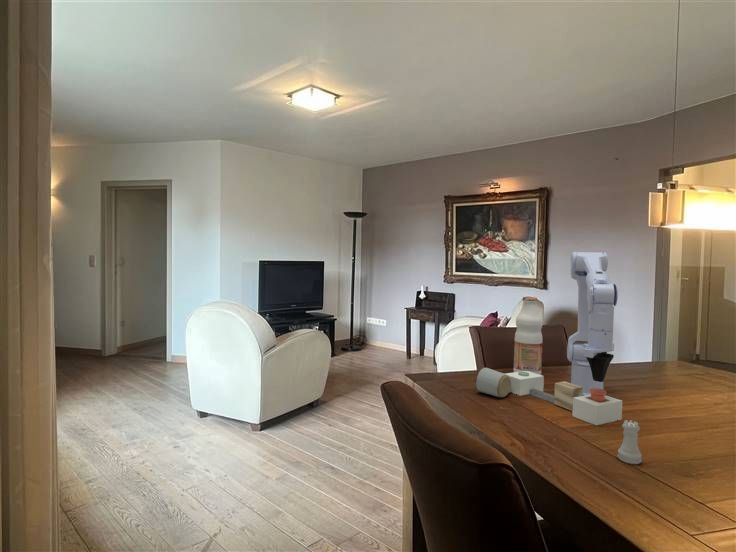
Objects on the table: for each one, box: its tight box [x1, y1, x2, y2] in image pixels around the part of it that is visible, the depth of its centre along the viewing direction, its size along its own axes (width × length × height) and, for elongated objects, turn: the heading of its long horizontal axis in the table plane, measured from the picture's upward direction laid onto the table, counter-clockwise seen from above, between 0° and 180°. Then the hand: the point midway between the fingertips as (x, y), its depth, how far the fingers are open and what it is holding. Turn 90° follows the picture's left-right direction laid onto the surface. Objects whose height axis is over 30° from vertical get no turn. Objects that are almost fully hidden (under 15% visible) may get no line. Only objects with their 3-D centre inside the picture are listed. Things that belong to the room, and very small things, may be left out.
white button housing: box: [571, 394, 623, 426], centre depth 115 cm, size 10×7×5 cm
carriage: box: [553, 381, 583, 412], centre depth 123 cm, size 4×6×6 cm, turn 26°
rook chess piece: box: [616, 419, 643, 465], centre depth 91 cm, size 4×4×8 cm
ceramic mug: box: [475, 367, 511, 398], centre depth 134 cm, size 11×8×8 cm
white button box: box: [505, 371, 545, 396], centre depth 138 cm, size 10×7×6 cm
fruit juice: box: [513, 296, 544, 375], centre depth 157 cm, size 9×9×28 cm
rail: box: [529, 389, 554, 404], centre depth 127 cm, size 2×18×2 cm, turn 26°
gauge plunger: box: [589, 388, 607, 403], centre depth 115 cm, size 4×4×4 cm
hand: (598, 380), depth 115 cm, fingers closed
